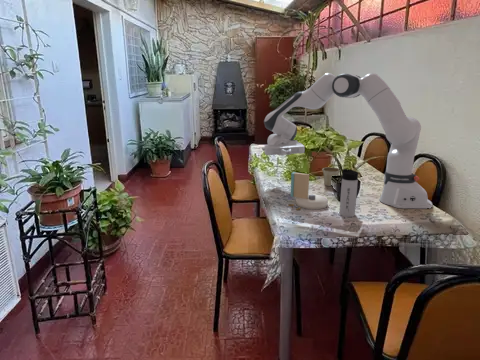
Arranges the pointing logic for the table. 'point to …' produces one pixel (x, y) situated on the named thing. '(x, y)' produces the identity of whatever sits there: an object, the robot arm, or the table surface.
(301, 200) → the white base with panel
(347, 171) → the travel mug
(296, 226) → the table surface
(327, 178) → the flower pot
